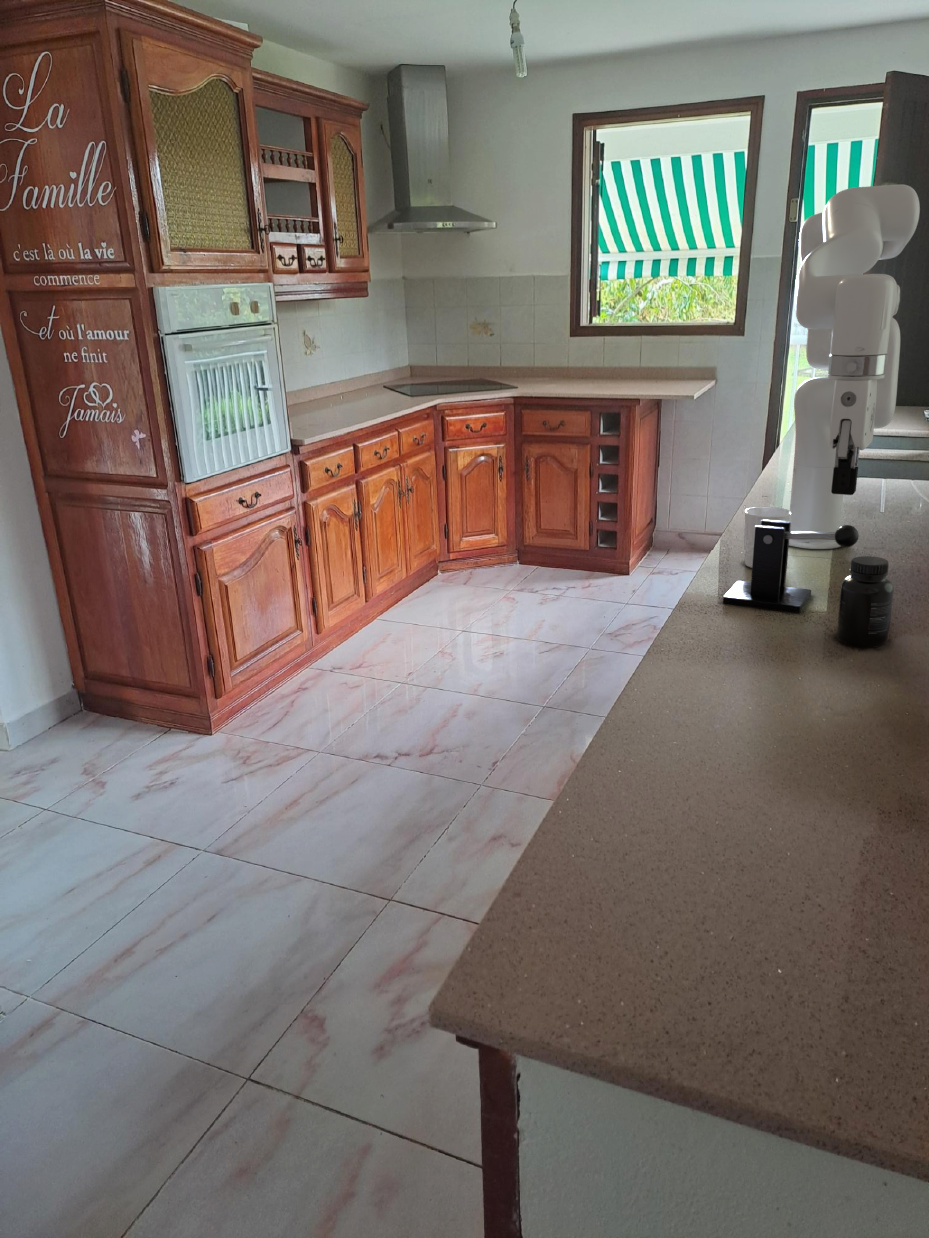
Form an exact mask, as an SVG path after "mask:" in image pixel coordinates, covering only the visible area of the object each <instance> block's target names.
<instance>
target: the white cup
mask: <svg viewBox="0 0 929 1238" xmlns="http://www.w3.org/2000/svg"><path fill="white" fill-rule="evenodd" d="M790 516H791V512H790V509H787V508H784V507H778V506H753V507H749V508H746V509H745V510H744V529H743V531H744V532H743V534H744V535H743V542H744V543H743V544H744V547H743V549H744V565H745V566H747V567H748V568H751V569H752V565H753V551H754V538H755V527H756V526H757V525H760V526H761V521H762V520H763V519H765V520H777V521H788V522H790Z"/></svg>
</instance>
